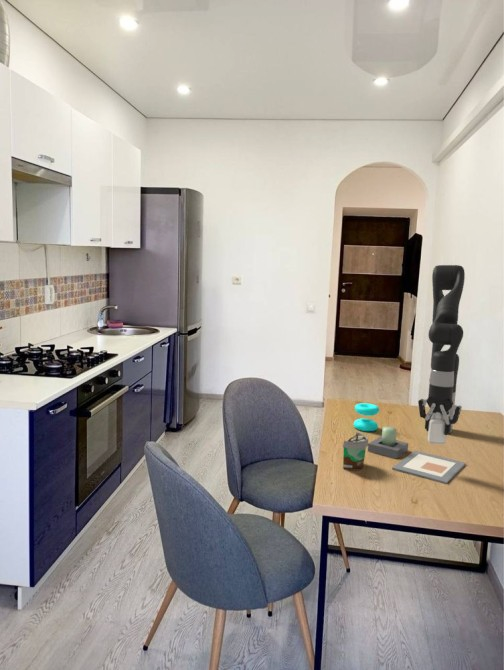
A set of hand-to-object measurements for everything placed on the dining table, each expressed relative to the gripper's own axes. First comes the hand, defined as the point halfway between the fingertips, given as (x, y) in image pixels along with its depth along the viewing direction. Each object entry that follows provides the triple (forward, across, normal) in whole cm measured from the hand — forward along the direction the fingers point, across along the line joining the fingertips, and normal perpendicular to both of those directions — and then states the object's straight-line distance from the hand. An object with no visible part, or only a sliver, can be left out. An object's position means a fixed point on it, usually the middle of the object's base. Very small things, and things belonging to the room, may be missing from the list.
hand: (437, 432), depth 176 cm
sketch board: (+13, +2, -1) cm, 13 cm away
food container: (+13, +21, +16) cm, 29 cm away
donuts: (+13, +37, -26) cm, 47 cm away
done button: (+10, +19, -6) cm, 23 cm away
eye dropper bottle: (+4, 0, 0) cm, 4 cm away
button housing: (+13, +19, -6) cm, 24 cm away
